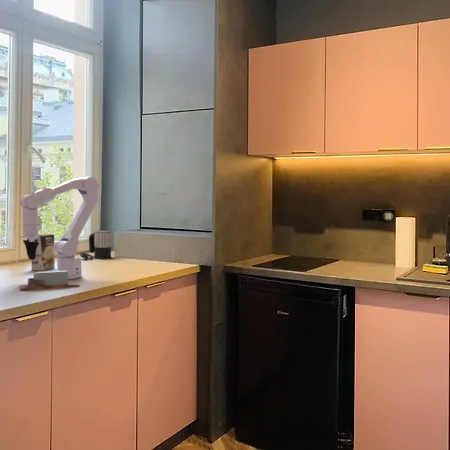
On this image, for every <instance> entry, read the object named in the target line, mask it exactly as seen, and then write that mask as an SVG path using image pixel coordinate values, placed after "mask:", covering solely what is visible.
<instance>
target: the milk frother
mask: <svg viewBox="0 0 450 450" xmlns="http://www.w3.org/2000/svg"><path fill="white" fill-rule="evenodd" d="M88 246H89V247H88V249H89V253H87V252H80V253H79V256H80V257H81V258H83V259H84V260H85V261H87V260H93V259H96V260H106V259H108V258H109V259H112V248H111V247H112V231H111V230H94V231H93V232H92V233H91V234H89V236H88ZM91 253H94V255H92V254H91Z"/></svg>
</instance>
